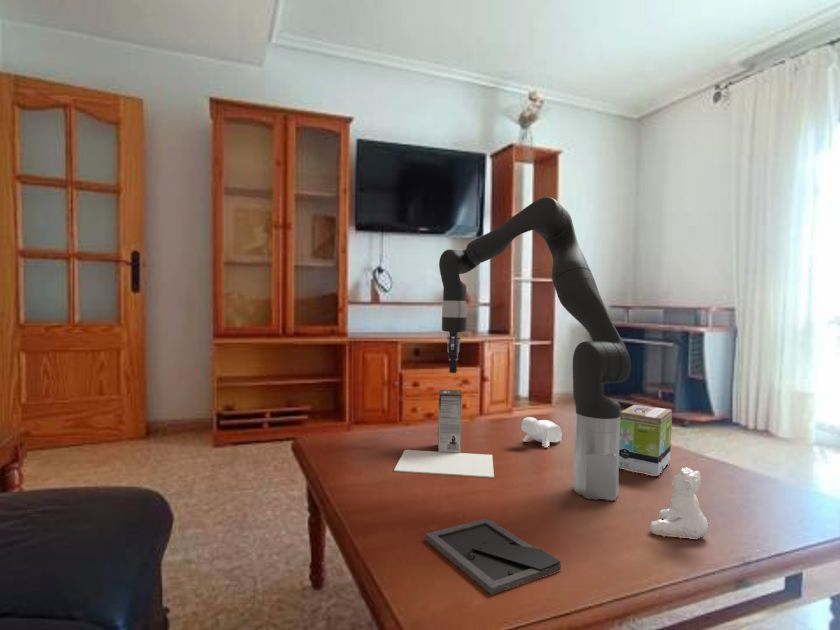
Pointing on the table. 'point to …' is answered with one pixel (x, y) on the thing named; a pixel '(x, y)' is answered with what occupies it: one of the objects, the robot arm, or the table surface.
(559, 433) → the white animal figurine
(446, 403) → the coffee box
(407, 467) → the flat white rectangular panel
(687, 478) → the seated beast figurine
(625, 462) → the tea box
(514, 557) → the picture frame
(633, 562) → the table surface
